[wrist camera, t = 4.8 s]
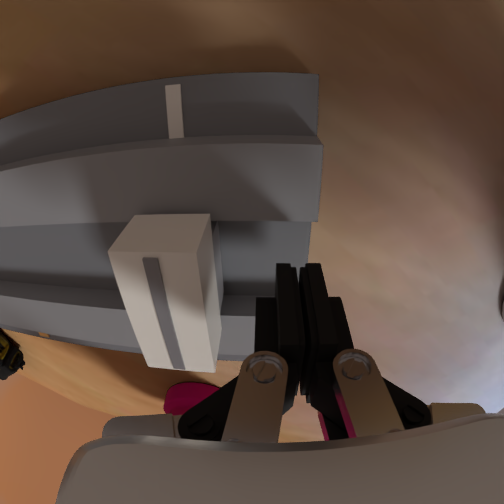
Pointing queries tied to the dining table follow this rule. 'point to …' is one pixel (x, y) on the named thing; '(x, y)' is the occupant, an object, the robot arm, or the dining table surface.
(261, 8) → the dining table surface
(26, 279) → the fader console
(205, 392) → the pepper mill
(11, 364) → the tape measure
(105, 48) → the dining table surface
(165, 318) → the fader tab
